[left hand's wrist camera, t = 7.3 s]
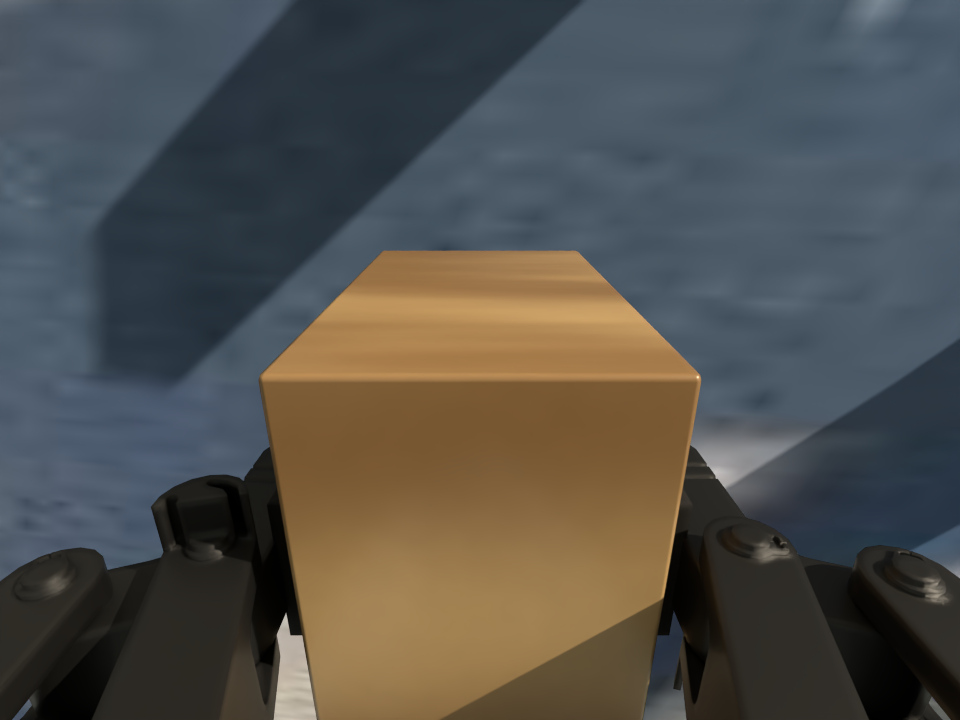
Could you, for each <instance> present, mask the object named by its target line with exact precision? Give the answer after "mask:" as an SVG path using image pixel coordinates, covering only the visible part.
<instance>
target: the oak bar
mask: <svg viewBox="0 0 960 720" xmlns="http://www.w3.org/2000/svg"><path fill="white" fill-rule="evenodd" d="M700 384H701V378H700V374H699V373H698V372H697V371H696V370H695V369H694V368H693V367H692V366H691V365H690V364H689V363H688V362H687V361H686V360H685V359H684V358H683V357H682V356H681V355H680V354H679V353H678V352H677V351H676V350H675V349H674V348H673V347H672V346H671V345H670V344H669V343H668V342H667V341H666V340H665V339H664V338H663V337H662V336H661V335H660V334H659V333H658V332H657V331H656V330H655V329H654V328H653V327H652V326H651V325H650V324H649V323H648V322H647V321H646V320H645V319H644V318H643V317H642V316H641V315H640V314H639V313H638V312H637V311H636V310H635V309H634V308H633V307H632V306H631V305H630V304H629V303H628V302H627V301H626V300H625V299H624V298H623V297H622V296H621V295H620V294H619V293H618V292H617V291H616V290H615V289H614V288H613V287H612V286H611V285H610V284H609V283H608V282H607V281H606V280H605V279H604V278H603V277H602V276H601V275H600V274H599V273H598V272H597V271H596V270H595V269H594V268H593V267H592V266H591V265H590V264H589V263H588V262H587V261H586V260H585V259H584V258H583V257H582V256H581V255H580V254H579V253H578V252H577V251H383V252H381V253H380V254H379V255H378V256H377V257H376V258H375V259H374V260H373V261H372V262H371V263H370V264H369V265H368V266H367V267H366V268H365V269H364V270H363V271H362V272H361V273H360V274H359V275H358V276H357V277H356V278H355V279H354V280H353V281H352V282H351V283H350V284H349V285H348V286H347V287H346V288H345V289H344V291H343V292H342V293H341V294H340V295H339V296H338V297H337V298H336V299H335V300H334V301H333V302H332V303H331V304H330V305H329V306H328V307H327V308H326V309H325V310H324V311H323V312H322V313H321V314H320V315H319V316H318V317H317V318H316V319H315V320H314V321H313V322H312V323H311V324H310V325H309V326H308V327H307V328H306V329H305V330H304V331H303V332H302V333H301V334H300V335H299V336H298V337H297V338H296V339H295V340H294V341H293V342H292V343H291V344H290V345H289V346H288V347H287V348H286V349H285V350H284V351H283V352H282V353H281V354H280V355H279V356H278V357H277V358H276V359H275V360H274V361H273V362H272V363H271V364H270V365H269V366H268V367H267V368H266V369H265V370H264V371H263V372H262V373H261V374H260V377H259V386H260V392H261V398H262V404H263V409H264V415H265V421H266V427H267V433H268V438H269V444H270V450H271V456H272V462H273V467H274V473H275V479H276V485H277V491H278V496H279V502H280V508H281V514H282V520H283V525H284V531H285V537H286V543H287V549H288V554H289V560H290V566H291V572H292V578H293V583H294V589H295V595H296V601H297V607H298V612H299V618H300V624H301V630H302V636H303V641H304V647H305V653H306V659H307V665H308V670H309V676H310V682H311V688H312V694H313V699H314V705H315V711H316V717H317V720H643V715H644V710H645V704H646V698H647V692H648V686H649V681H650V675H651V669H652V663H653V657H654V652H655V646H656V640H657V634H658V628H659V622H660V617H661V611H662V605H663V599H664V593H665V588H666V582H667V576H668V570H669V564H670V559H671V553H672V547H673V541H674V535H675V529H676V524H677V518H678V512H679V506H680V500H681V495H682V489H683V483H684V477H685V471H686V466H687V460H688V454H689V448H690V442H691V436H692V431H693V425H694V419H695V413H696V407H697V402H698V396H699V390H700Z"/></svg>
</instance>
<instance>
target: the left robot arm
mask: <svg viewBox="0 0 960 720" xmlns="http://www.w3.org/2000/svg"><path fill="white" fill-rule="evenodd" d="M151 509H152V512H153V516H154V519H155V523H156V526H157V530H158V533H159V537H160V541H161V544H162V548H163V551H164V552H163V554H162V557H161V558H158V559H154V560H151V561H146V562H142V563H137V564H133V565H128V566H124V567H119V568H115V569H110V570H107V567H106V564H105V561H104V558H103V556H102V555H101V554H99V553H98V552H97V551H96V550H93V549H87V548H73V549H66V550H60V551H57V552H53V553H51V554H47V555H44V556H41V557H39V558H37V559H35V560H33V561H31V562H29V563H27V564H25V565H23V566H21V567H19V568H18V569H16V570H15V571H14V572H12V573H11V574H10V575H8V576H7V577H6V578H4V579H3V580H1V581H0V720H12V719H13V718H14V717H15V715H16V714H17V713H18V712H19V710H20V709H21V708H22V707H23V705H24V704H25V703H26V702H27V701H28V699H29V700H30V702H31V704H32V706H31V707H30V709H29V710H28V711H27V712H26V714H25V715H24V716H23V717H22V718H21V719H20V720H274V710H275V701H276V692H277V682H278V673H279V664H280V651H279V644H278V639H277V633H278V630H279V628H280V626H281V623H282V621H283V618H284V616H285V614H286V613H287V618H288V624H289V629H290V635H302V630H301V624H300V618H299V612H298V607H297V601H296V595H295V589H294V583H293V578H292V572H291V566H290V560H289V554H288V549H287V543H286V537H285V531H284V525H283V520H282V514H281V508H280V502H279V496H278V491H277V485H276V479H275V473H274V467H273V462H272V456H271V450H270V447H269V448H267V449H266V450H265V451H263V453H262V454H261V456H260V457H259V458H258V460H257V461H256V463H255V464H254V465H253V468H251V469H250V471H249V472H248V474H247V475H246V476H245V479H244V481H243V480H241V479H240V478H238V477H234V476H230V475H209V476H204V477H200V478H195V479H191V480H189V481H187V482H184V483H182V484H179V485H177V486H175V487H173V488H171V489H170V490H168V491H167V492H165V493H164V494H162V495H161V496H160V497H159V498H158V499H157V500H156V502H155V503H154V504H153V505H152V506H151ZM673 611H674V612H675V614H676V617H677V619H678V621H679V624H680V626H681V629H682V631H683V633H684V634H683V639H682V644H681V650H680V655H679V660H678V665H677V670H676V675H675V681H674V688H673V689H677V690H681V685H682V681H683V690H684V700H685V709H686V718H687V720H942V719H941V718H940V717H939V716H938V715H937V714H936V712H935V711H934V710H933V709H932V707H931V706H930V705H929V704H928V703H929V701H930V698H931V696H932V697H933V698H934V700H935V701H936V702H937V703H938V704H939V706H940V707H941V708H942V709H943V711H944V712H945V713H946V714H947V715H948V717H949V718H950V719H951V720H960V578H958V577H957V576H956V575H954V574H953V573H952V572H950V571H949V570H947V569H946V568H945V567H943V566H942V565H940V564H938V563H936V562H934V561H932V560H930V559H928V558H926V557H924V556H923V555H920V554H918V553H915V552H912V551H909V550H905V549H901V548H897V547H890V546H882V545H878V546H871V547H865V548H864V549H863V550H862V551H860V552H859V553H858V554H857V557H856V560H855V563H854V566H853V568H851V567H847V566H842V565H837V564H833V563H828V562H824V561H819V560H814V559H810V558H807V557H803V556H800V555H798V553H797V551H796V550H795V548H794V547H793V546H792V544H791V543H790V541H789V540H788V539H787V538H786V537H784V536H783V535H782V534H780V533H779V532H778V531H777V530H775V529H774V528H771V527H769V526H767V525H765V524H763V523H761V522H759V521H756V520H752V519H748V518H746V517H745V516H744V514H743V513H742V512H741V510H740V509H739V507H738V506H737V505H736V503H735V502H734V501H733V499H732V498H731V497H730V495H729V494H728V492H727V491H726V490H725V488H724V487H723V486H722V484H721V483H720V481H719V480H718V479H716V478H715V475H714V473H713V472H712V470H711V469H710V468H709V467H707V464H706V462H705V461H704V459H703V458H702V457H701V455H700V454H699V453H698V451H697V450H696V449H695V448H693V447H692V446H690V448H689V454H688V460H687V466H686V471H685V477H684V483H683V489H682V495H681V500H680V506H679V512H678V518H677V524H676V529H675V535H674V541H673V547H672V553H671V559H670V564H669V570H668V576H667V582H666V588H665V593H664V599H663V605H662V611H661V617H660V622H659V628H658V634H657V635H669V633H670V627H671V622H672V616H673Z"/></svg>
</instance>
